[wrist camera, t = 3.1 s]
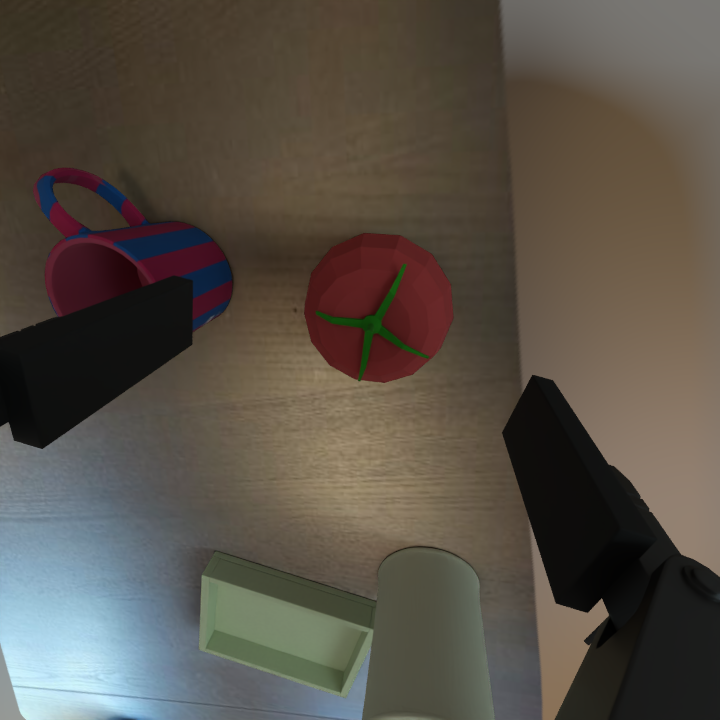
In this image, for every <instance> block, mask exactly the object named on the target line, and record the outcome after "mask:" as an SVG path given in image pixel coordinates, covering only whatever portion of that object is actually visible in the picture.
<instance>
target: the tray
mask: <svg viewBox="0 0 720 720" xmlns="http://www.w3.org/2000/svg"><path fill="white" fill-rule="evenodd" d="M376 604H377V602H375V601H372V600H369V599H366V598H363V597H360V596H356V595H353V594H350V593H347V592H344V591H341V590H338V589H334V588H331V587H328V586H325V585H322V584H319V583H315V582H312V581H309V580H306V579H303V578H300V577H297V576H293V575H290V574H287V573H284V572H281V571H278V570H274V569H271V568H268V567H265V566H262V565H259V564H255V563H252V562H249V561H246V560H243V559H240V558H237V557H233V556H230V555H227V554H224V553H221V552H218V551H215V553H214V555H213V557H212V558H211V560H210V562H209V563H208V565H207V567H206V569H205V570H204V572H203V574H202V585H201V609H200V633H199V650H201V651H204V652H207V653H210V654H213V655H216V656H219V657H222V658H225V659H228V660H232V661H235V662H238V663H241V664H244V665H247V666H250V667H253V668H256V669H259V670H262V671H265V672H268V673H271V674H274V675H277V676H280V677H283V678H286V679H289V680H292V681H295V682H298V683H301V684H304V685H307V686H310V687H313V688H316V689H319V690H322V691H325V692H328V693H331V694H334V695H337V696H340V697H343V698H346V697H347V695H348V693H349V691H350V688H351V686H352V684H353V682H354V680H355V678H356V676H357V674H358V672H359V670H360V668H361V665H362V663H363V661H364V659H365V657H366V655H367V653H368V651H369V649H370V647H371V644H372V638H373V630H374V621H375V613H376Z"/></svg>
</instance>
